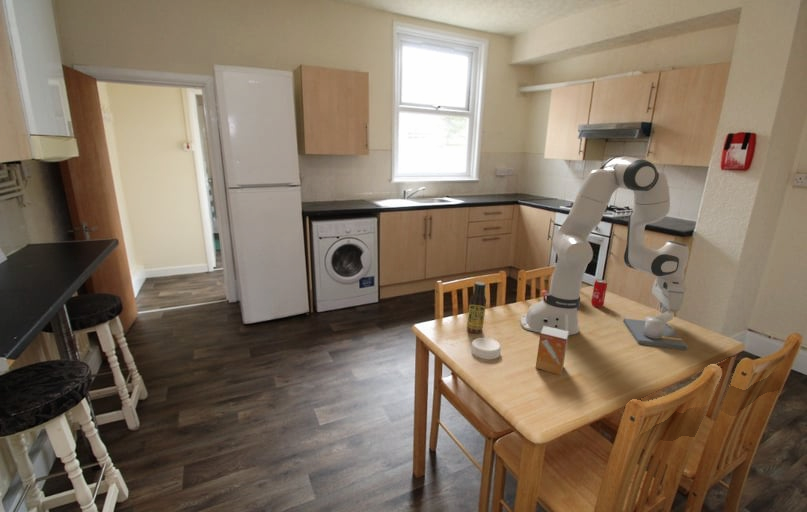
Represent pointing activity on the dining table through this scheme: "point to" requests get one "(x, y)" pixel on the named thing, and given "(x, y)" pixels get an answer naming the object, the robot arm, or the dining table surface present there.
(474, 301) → the sauce bottle
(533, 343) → the dining table surface
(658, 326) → the white measuring scoop
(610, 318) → the dining table surface
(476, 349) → the white bowl
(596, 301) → the beverage can
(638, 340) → the plate
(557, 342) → the small box
